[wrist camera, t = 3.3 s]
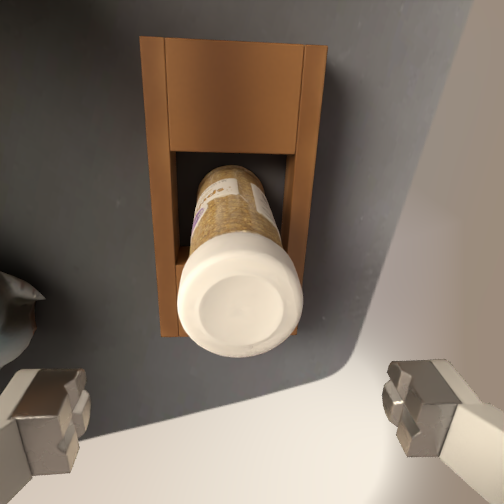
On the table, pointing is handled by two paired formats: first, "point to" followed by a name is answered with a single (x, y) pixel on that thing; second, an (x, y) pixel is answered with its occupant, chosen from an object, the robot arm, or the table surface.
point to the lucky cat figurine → (16, 316)
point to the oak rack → (228, 132)
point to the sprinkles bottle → (237, 270)
